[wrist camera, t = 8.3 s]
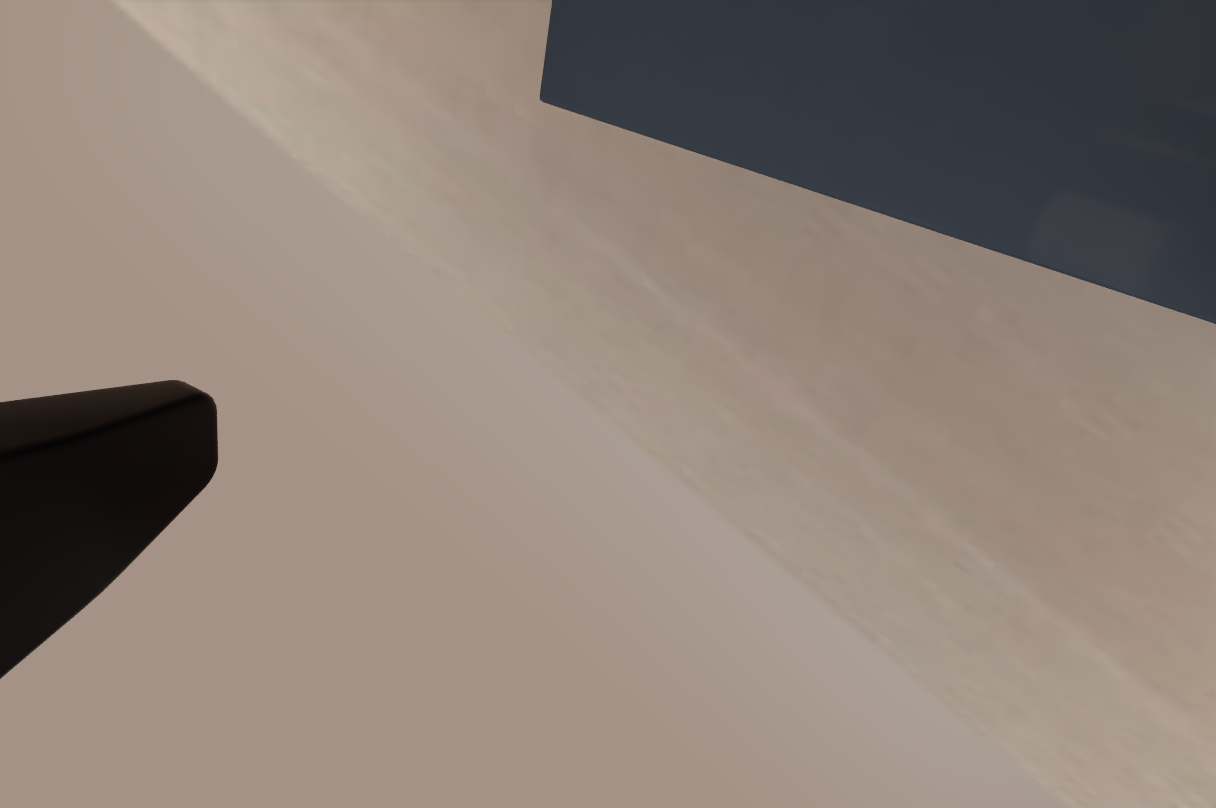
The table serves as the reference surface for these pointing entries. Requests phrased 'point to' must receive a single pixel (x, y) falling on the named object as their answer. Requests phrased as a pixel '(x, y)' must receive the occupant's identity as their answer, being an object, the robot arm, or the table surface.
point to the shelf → (938, 116)
